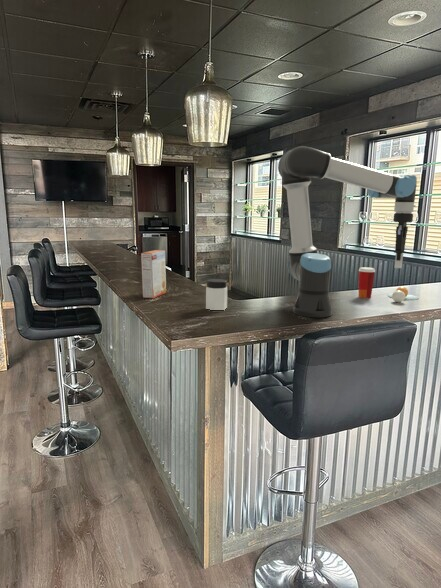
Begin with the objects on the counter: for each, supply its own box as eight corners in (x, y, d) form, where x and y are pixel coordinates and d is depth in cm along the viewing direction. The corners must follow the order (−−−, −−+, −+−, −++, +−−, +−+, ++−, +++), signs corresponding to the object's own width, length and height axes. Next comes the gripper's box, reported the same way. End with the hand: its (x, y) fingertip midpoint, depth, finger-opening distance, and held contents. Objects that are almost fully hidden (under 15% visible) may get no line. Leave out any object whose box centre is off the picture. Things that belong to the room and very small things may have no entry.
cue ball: (394, 287, 190) (393, 298, 192) (390, 292, 186) (389, 303, 188) (407, 289, 186) (406, 300, 189) (403, 294, 183) (402, 305, 185)
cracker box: (155, 292, 203) (154, 249, 199) (166, 293, 201) (166, 250, 197) (141, 297, 190) (140, 252, 186) (153, 298, 188) (152, 252, 184)
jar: (224, 306, 176) (224, 278, 173) (229, 310, 168) (230, 281, 165) (203, 307, 173) (204, 279, 171) (208, 311, 166) (208, 282, 163)
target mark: (384, 297, 198) (384, 297, 198) (390, 292, 209) (390, 292, 209) (416, 301, 190) (416, 300, 190) (420, 296, 202) (420, 295, 202)
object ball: (395, 285, 196) (397, 287, 200) (393, 296, 195) (395, 298, 200) (408, 286, 193) (409, 288, 198) (406, 297, 192) (407, 299, 197)
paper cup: (370, 295, 201) (373, 267, 199) (375, 299, 194) (377, 269, 191) (354, 295, 202) (356, 266, 199) (357, 298, 195) (360, 269, 192)
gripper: (410, 212, 168) (404, 270, 173) (415, 212, 179) (409, 266, 184) (391, 212, 172) (385, 268, 177) (397, 212, 183) (392, 265, 188)
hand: (398, 267), depth 180 cm, fingers closed
